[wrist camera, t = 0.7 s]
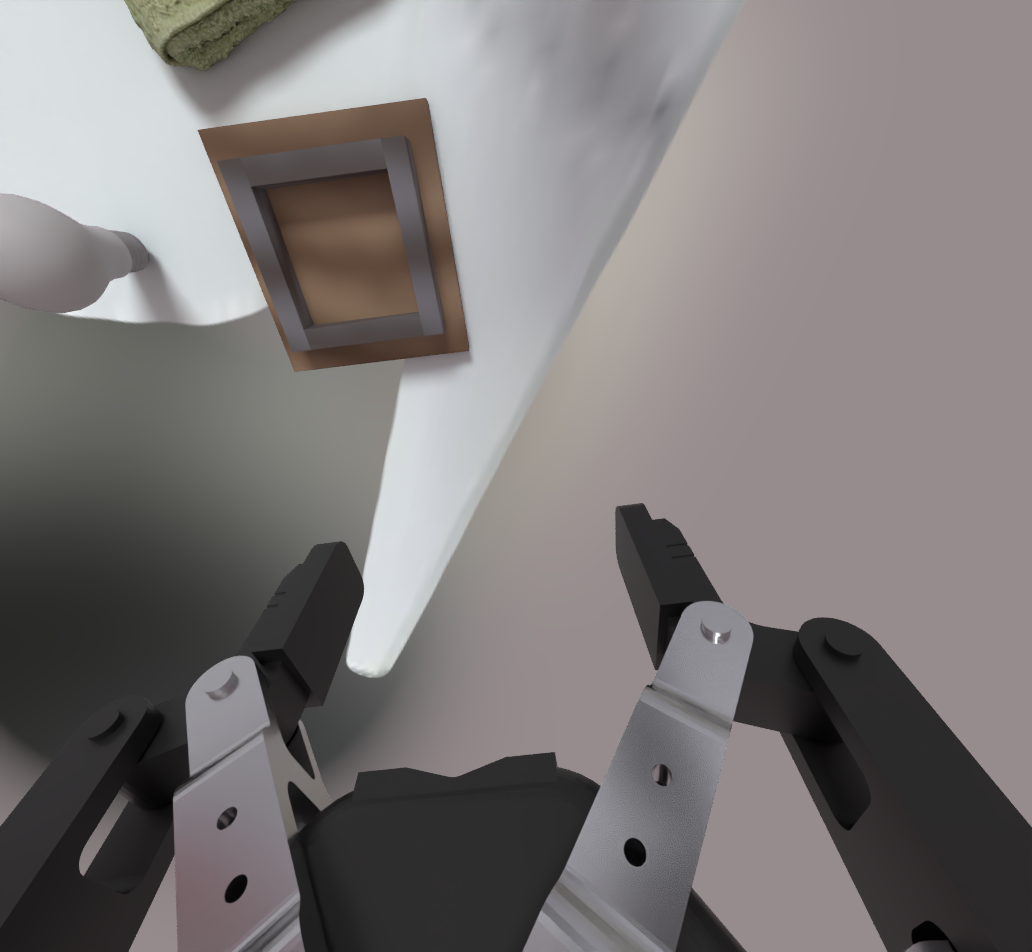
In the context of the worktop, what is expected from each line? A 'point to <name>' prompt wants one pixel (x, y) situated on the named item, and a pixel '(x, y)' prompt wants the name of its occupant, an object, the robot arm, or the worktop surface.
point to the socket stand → (346, 231)
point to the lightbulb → (59, 257)
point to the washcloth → (200, 26)
